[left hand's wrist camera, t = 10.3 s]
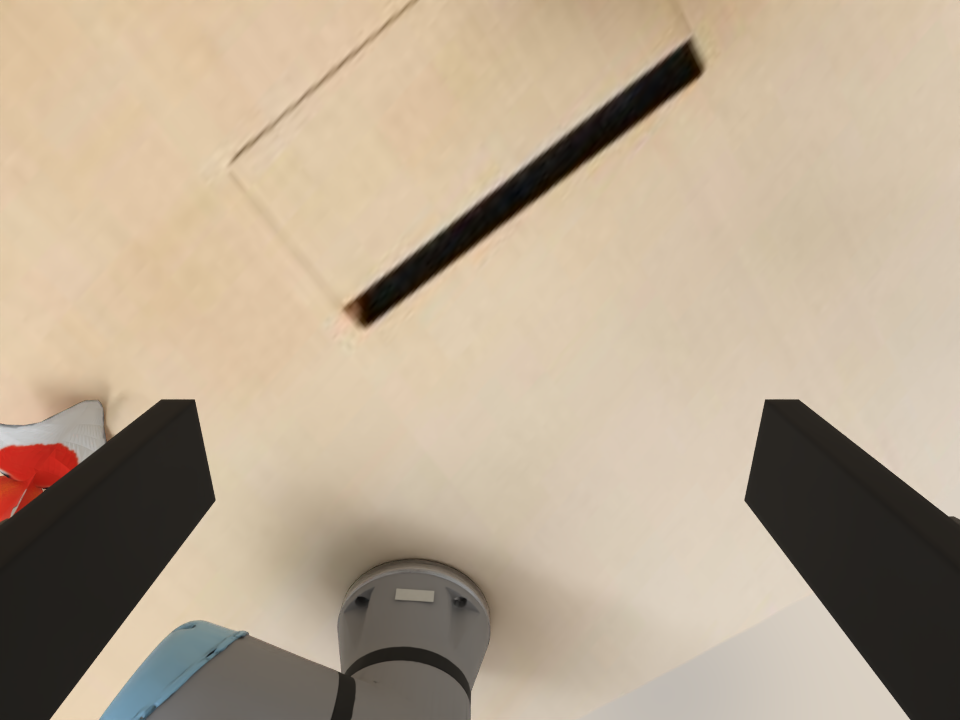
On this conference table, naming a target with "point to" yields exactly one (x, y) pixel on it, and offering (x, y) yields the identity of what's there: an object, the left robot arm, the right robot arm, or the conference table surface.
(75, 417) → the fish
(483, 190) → the conference table surface
